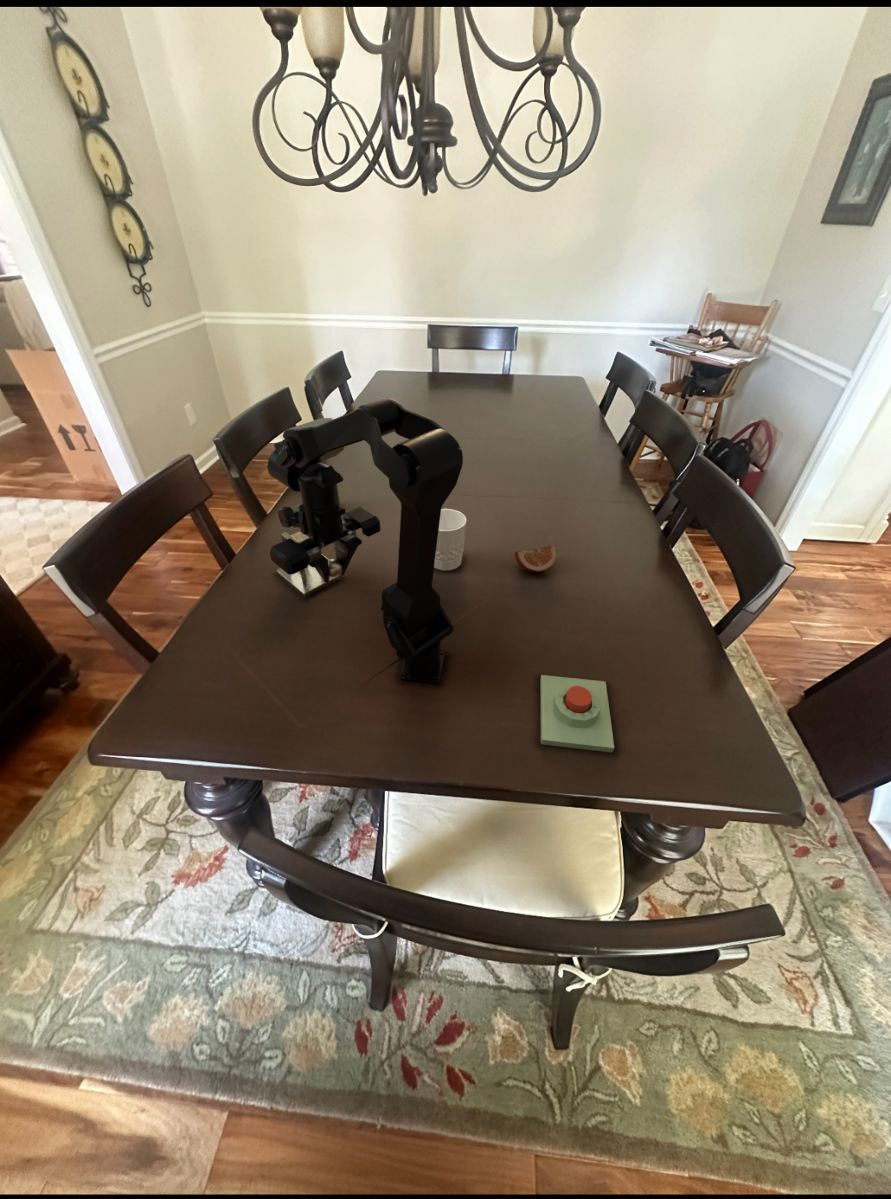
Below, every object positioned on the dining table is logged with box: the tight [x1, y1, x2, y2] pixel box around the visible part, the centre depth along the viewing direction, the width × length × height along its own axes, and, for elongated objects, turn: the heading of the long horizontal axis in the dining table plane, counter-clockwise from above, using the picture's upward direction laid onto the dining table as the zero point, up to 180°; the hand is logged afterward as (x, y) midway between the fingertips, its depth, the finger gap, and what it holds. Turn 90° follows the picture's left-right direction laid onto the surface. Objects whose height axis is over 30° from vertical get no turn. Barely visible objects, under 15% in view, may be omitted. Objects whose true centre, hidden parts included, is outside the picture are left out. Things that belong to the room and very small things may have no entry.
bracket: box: [276, 531, 341, 598], centre depth 98 cm, size 10×8×10 cm
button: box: [565, 686, 592, 713], centre depth 75 cm, size 4×4×2 cm
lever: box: [290, 530, 342, 577], centre depth 93 cm, size 13×3×3 cm, turn 45°
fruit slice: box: [514, 544, 558, 573], centre depth 102 cm, size 8×7×5 cm
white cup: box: [434, 508, 467, 572], centre depth 102 cm, size 8×8×10 cm
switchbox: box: [539, 674, 615, 753], centre depth 76 cm, size 12×10×3 cm
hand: (334, 577), depth 92 cm, fingers closed on lever, 3 cm apart
